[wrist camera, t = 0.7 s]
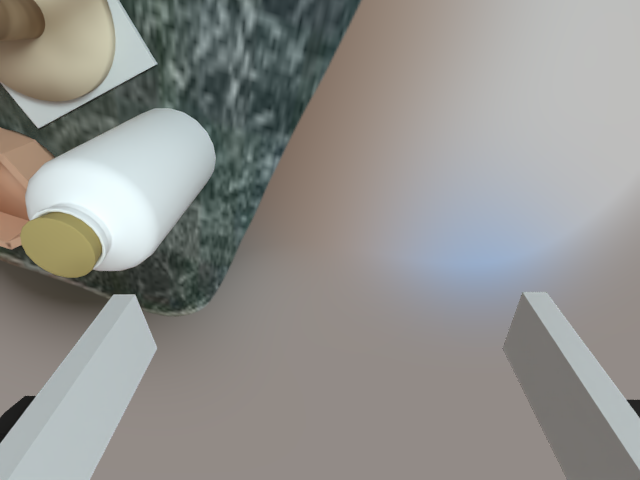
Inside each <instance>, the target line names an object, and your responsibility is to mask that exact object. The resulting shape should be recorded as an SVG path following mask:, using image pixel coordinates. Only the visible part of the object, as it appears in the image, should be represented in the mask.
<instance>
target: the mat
mask: <svg viewBox="0 0 640 480" xmlns="http://www.w3.org/2000/svg"><path fill="white" fill-rule="evenodd" d="M107 1H108V4H109V7H110V10H111V13H112V18H113V22H114V28H115V37H116V43H115V55H114V60H113V64H112V67H111V69H110V71H109V73H108V76H107V77H106V78H105V80H104V81H103V83H102V84H101V85H100V86H99V87H98V88H96V89H95V90H93V91H92V92H90V93H88V94H86V95H84V96H81V97H78V98H75V99H71V100H67V101H58V102H55V101H45V100H39V99H35V98H32V97H29V96H26V95H24V94H22V93H19V92H17V91H15V90H13V89H12V88H10V87H8V86H6V85H5V84H3V83H2V82H0V83H1V84H2V85H3V87H4V88H5V89H6V90H7V91H8V93H9V94H10V95H11V96H12V97H13V99H14V100H15V101H16V102H17V104H18V105H19V106H20V107H21V108H22V110H23V111H24V112H25V113H26V114H27V116H28V117H29V118H30V119H31V120H32V122H33V123H34V124H35V125H36V126H37V128H41V127H43V126H44V125H46V124H48V123H50V122H52V121H54V120H56V119H57V118H59V117H61V116H63V115H65V114H67V113H68V112H70V111H72V110H74V109H76V108H78V107H79V106H81V105H83V104H85V103H87V102H89V101H90V100H92V99H94V98H96V97H98V96H100V95H101V94H103V93H105V92H107V91H109V90H111V89H113V88H114V87H116V86H118V85H120V84H122V83H124V82H125V81H127V80H129V79H131V78H133V77H135V76H136V75H138V74H140V73H142V72H144V71H146V70H147V69H149V68H151V67H153V66H155V65H157V62H156V61H155V59H154V57H153V56H152V54H151V53H150V51H149V49H148V48H147V46H146V44H145V43H144V41H143V39H142V38H141V36H140V34H139V33H138V31H137V29H136V28H135V26H134V24H133V23H132V21H131V19H130V18H129V16H128V14H127V13H126V11H125V9H124V8H123V6H122V4H121V3H120V1H119V0H107Z"/></svg>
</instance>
